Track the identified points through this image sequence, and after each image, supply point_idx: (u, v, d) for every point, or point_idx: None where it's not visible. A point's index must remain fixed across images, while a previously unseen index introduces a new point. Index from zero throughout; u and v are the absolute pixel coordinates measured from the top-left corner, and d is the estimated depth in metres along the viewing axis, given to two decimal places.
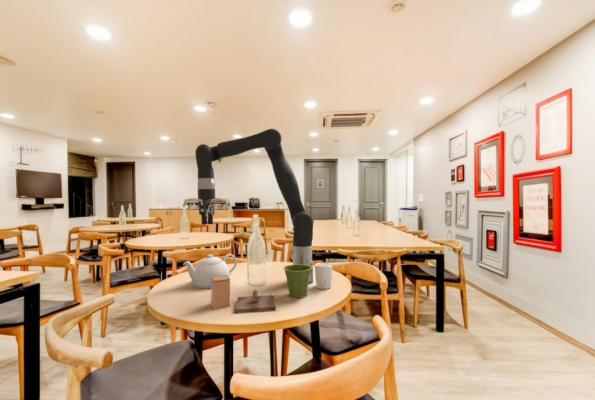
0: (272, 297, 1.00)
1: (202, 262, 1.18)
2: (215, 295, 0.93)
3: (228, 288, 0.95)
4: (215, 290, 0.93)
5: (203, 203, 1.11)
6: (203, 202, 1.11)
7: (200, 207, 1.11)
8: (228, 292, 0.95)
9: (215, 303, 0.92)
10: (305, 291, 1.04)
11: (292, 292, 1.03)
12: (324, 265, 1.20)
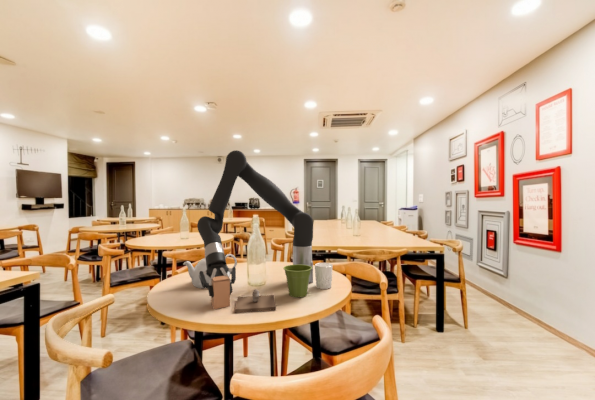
0: (272, 297, 1.00)
1: (202, 262, 1.18)
2: (215, 295, 0.92)
3: (228, 288, 0.95)
4: (215, 290, 0.93)
5: (200, 275, 0.96)
6: (199, 274, 0.97)
7: (201, 280, 0.96)
8: (228, 292, 0.95)
9: (215, 303, 0.92)
10: (305, 291, 1.04)
11: (292, 292, 1.03)
12: (324, 265, 1.20)
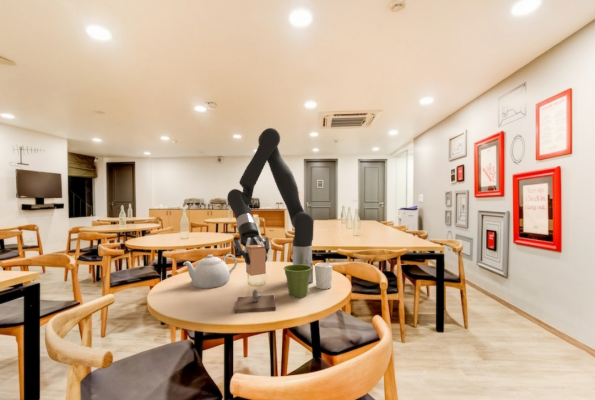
0: (272, 297, 1.00)
1: (202, 262, 1.18)
2: (252, 262, 0.93)
3: (264, 255, 0.95)
4: (252, 257, 0.93)
5: (235, 243, 0.97)
6: (234, 242, 0.97)
7: (236, 249, 0.97)
8: (264, 259, 0.95)
9: (252, 270, 0.93)
10: (305, 291, 1.04)
11: (292, 292, 1.03)
12: (324, 265, 1.20)
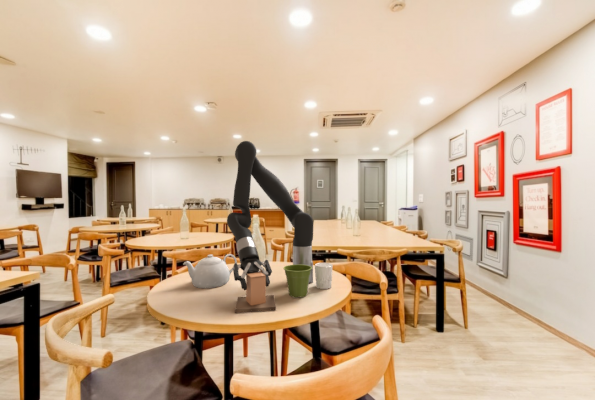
0: (272, 297, 1.00)
1: (202, 262, 1.18)
2: (252, 291, 0.93)
3: (264, 285, 0.95)
4: (252, 286, 0.93)
5: (234, 267, 0.97)
6: (233, 266, 0.97)
7: (234, 272, 0.97)
8: (264, 289, 0.95)
9: (252, 299, 0.92)
10: (305, 291, 1.04)
11: (292, 292, 1.03)
12: (324, 265, 1.20)
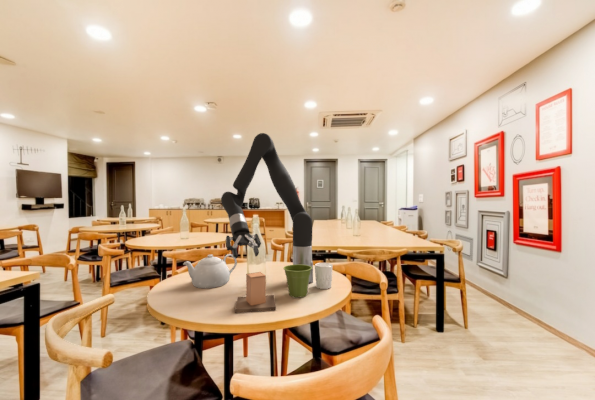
0: (272, 297, 1.00)
1: (202, 262, 1.18)
2: (252, 291, 0.93)
3: (264, 285, 0.95)
4: (252, 286, 0.93)
5: (226, 238, 1.08)
6: (226, 237, 1.08)
7: (226, 243, 1.07)
8: (264, 289, 0.95)
9: (252, 299, 0.92)
10: (305, 291, 1.04)
11: (292, 292, 1.03)
12: (324, 265, 1.20)
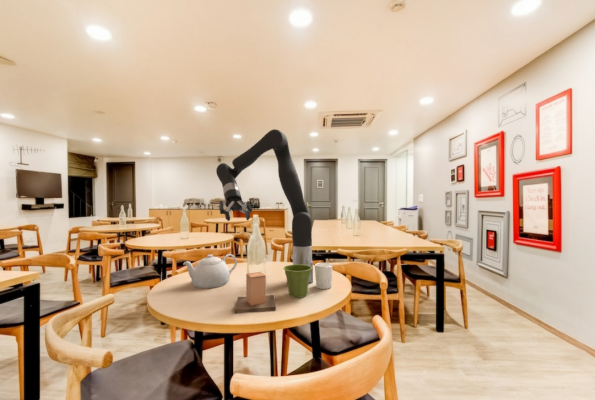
0: (272, 297, 1.00)
1: (202, 262, 1.18)
2: (252, 291, 0.93)
3: (264, 285, 0.95)
4: (252, 286, 0.93)
5: None
6: None
7: None
8: (264, 289, 0.95)
9: (252, 299, 0.92)
10: (305, 291, 1.04)
11: (292, 292, 1.03)
12: (324, 265, 1.20)
